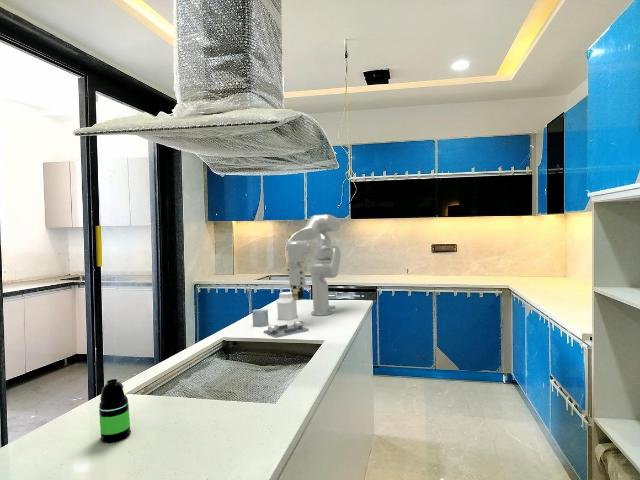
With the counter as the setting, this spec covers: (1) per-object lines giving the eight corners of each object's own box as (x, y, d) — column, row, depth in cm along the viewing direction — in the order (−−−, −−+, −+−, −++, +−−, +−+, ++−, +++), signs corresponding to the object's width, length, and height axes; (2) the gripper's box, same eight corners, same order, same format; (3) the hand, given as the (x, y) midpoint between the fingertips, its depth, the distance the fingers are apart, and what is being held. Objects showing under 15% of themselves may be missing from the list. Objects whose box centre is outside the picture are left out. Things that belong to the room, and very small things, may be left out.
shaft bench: (295, 326, 225) (295, 318, 225) (308, 330, 214) (308, 322, 214) (263, 332, 214) (263, 324, 214) (275, 337, 204) (275, 328, 203)
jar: (289, 320, 240) (288, 294, 239) (275, 319, 244) (274, 294, 243) (299, 316, 250) (298, 291, 250) (285, 315, 254) (284, 291, 254)
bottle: (99, 446, 106) (95, 388, 105) (101, 434, 112) (98, 379, 112) (130, 439, 109) (127, 382, 108) (131, 427, 115) (127, 374, 115)
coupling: (299, 298, 230) (298, 287, 230) (304, 299, 226) (303, 288, 226) (291, 299, 228) (291, 288, 227) (296, 300, 224) (295, 289, 223)
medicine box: (268, 324, 233) (267, 309, 233) (266, 326, 229) (266, 310, 229) (254, 324, 234) (254, 309, 234) (252, 326, 230) (252, 311, 229)
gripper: (310, 264, 221) (312, 298, 222) (293, 263, 235) (295, 294, 236) (298, 266, 217) (300, 301, 218) (282, 264, 231) (284, 297, 232)
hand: (298, 297), depth 227 cm, fingers closed on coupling, 4 cm apart
